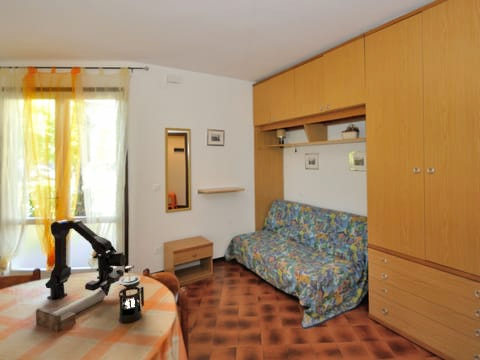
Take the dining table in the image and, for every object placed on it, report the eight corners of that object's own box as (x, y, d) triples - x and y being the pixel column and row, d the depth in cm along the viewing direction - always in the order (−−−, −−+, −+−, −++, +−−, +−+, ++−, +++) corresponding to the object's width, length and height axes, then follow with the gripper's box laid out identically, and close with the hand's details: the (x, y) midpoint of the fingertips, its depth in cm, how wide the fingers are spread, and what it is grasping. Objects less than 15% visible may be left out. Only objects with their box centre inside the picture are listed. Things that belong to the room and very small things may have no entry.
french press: (125, 327, 110) (124, 272, 109) (113, 320, 116) (111, 267, 115) (149, 314, 120) (148, 264, 119) (136, 308, 125) (135, 260, 124)
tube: (54, 318, 110) (106, 292, 133) (46, 312, 112) (98, 287, 135) (52, 329, 111) (103, 301, 134) (44, 323, 113) (96, 296, 136)
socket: (36, 324, 113) (35, 309, 112) (54, 315, 119) (54, 301, 119) (57, 332, 107) (57, 316, 107) (75, 322, 114) (75, 307, 114)
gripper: (99, 275, 123) (102, 307, 124) (130, 261, 140) (132, 289, 141) (83, 272, 127) (85, 303, 129) (115, 258, 145) (116, 286, 146)
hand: (106, 295), depth 136 cm, fingers closed
